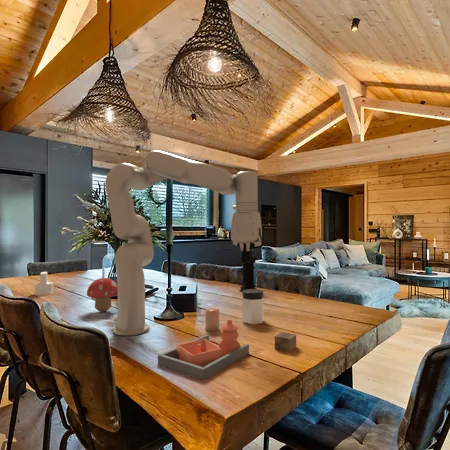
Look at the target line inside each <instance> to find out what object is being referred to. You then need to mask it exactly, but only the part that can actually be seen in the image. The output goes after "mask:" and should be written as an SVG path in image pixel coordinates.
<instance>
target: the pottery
mask: <svg viewBox="0 0 450 450" xmlns="http://www.w3.org/2000/svg"><path fill="white" fill-rule="evenodd" d="M220 329H221V330H222V331H221V332H220V338H221V340H220V342H219V344H218V345H216V344H214V343H213V342H212V341H210V340H209V341H208V340H206V339H202V340H197V341H193V342H190V341H187V342H185V343H179V344H177V345H176V347H177V358H176V359H178V360H182V361H185V362H188V363H191V364H194V365H197V366H201V367H204V366H206V365H208V364H210V363H212V362H213V361H215V360H217V359H219V358H221V357H223V356H225V355H226V354H228V353H230V352H232V351H234V350H236V349H237V348H239V347H241V346H242V345H241V344H240V342H239V341H238V339H239V333H238V329H239V327H238V325H237V324H236V323H234V322H233V320H232V319H227V320H226V323H224V324H222V325H221V327H220Z"/></svg>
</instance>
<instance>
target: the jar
mask: <svg viewBox="0 0 450 450" xmlns="http://www.w3.org/2000/svg"><path fill="white" fill-rule="evenodd" d="M263 322H264V291H263V290H261V289H259V288H258V289H246V290H243V293H242V298H241V323H244V324H247V325H248V324H249V325H259V324H263Z"/></svg>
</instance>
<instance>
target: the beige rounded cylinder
mask: <svg viewBox="0 0 450 450" xmlns="http://www.w3.org/2000/svg"><path fill="white" fill-rule="evenodd" d="M204 317H205V321H204V322H205V331H207V332H217V331H220V309H219V308H217V307H216V308H215V307H213V308H212V307H211V308H206V309H205V316H204Z"/></svg>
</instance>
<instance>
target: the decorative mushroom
mask: <svg viewBox="0 0 450 450" xmlns="http://www.w3.org/2000/svg"><path fill="white" fill-rule="evenodd" d="M86 296H87V297H88V298H92V299H94V309H95V310H97V311H99V312H100V313H105V312H107V311H108V310H110V309H111V307H112V298H113V297H116V296H118V288H117V282H115V281H114V280H113V279H111V278H108V277H100V278H97V279H95V280H94V281H92V282H91V283H90V284H89V286H88V287H87V291H86Z"/></svg>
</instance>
